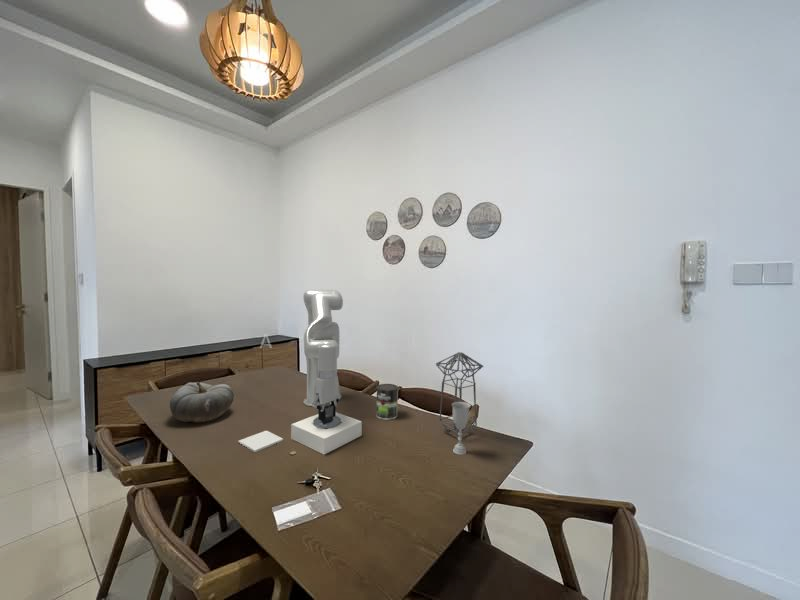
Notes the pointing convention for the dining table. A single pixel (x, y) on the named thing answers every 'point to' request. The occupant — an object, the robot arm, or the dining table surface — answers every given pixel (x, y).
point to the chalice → (460, 423)
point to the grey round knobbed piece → (327, 419)
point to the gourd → (201, 402)
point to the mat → (260, 441)
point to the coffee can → (387, 401)
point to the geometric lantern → (459, 356)
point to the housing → (326, 433)
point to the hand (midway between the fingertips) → (327, 417)
